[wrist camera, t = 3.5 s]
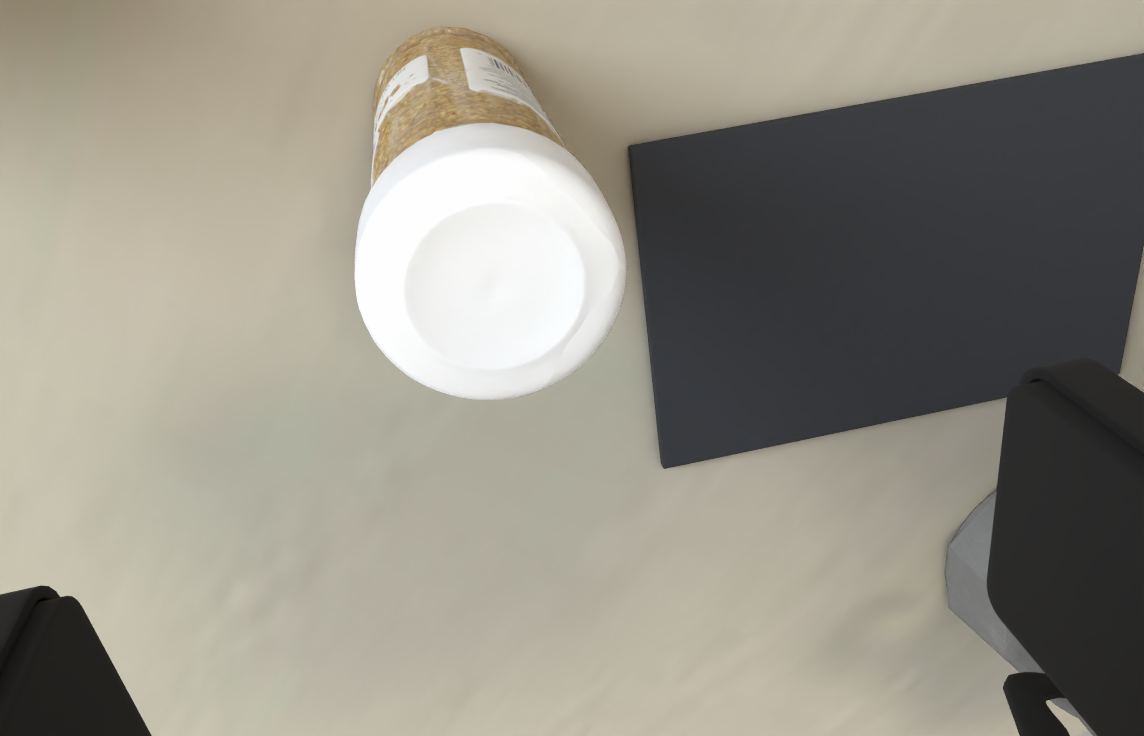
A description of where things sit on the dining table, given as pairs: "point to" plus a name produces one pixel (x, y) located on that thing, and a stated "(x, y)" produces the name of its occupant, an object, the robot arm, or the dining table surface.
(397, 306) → the sprinkles bottle
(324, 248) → the dining table surface
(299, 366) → the dining table surface
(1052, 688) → the coffeepot
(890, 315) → the mat
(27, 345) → the dining table surface
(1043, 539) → the robot arm
